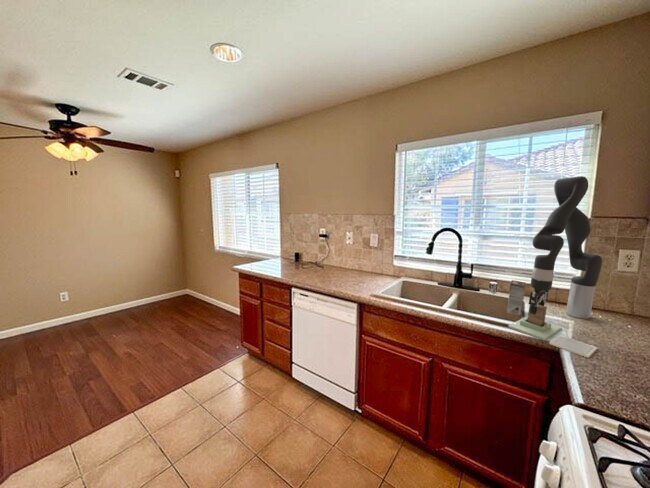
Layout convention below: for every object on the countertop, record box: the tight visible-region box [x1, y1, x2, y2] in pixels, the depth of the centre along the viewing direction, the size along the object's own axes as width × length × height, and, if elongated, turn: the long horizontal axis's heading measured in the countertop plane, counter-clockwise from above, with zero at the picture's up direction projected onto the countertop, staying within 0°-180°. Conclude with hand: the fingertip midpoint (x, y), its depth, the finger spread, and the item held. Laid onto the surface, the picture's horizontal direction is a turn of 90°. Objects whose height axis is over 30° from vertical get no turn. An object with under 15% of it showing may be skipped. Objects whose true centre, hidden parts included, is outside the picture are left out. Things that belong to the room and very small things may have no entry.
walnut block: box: [527, 304, 548, 327], centre depth 123 cm, size 5×5×10 cm
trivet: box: [548, 334, 598, 359], centre depth 109 cm, size 12×12×1 cm
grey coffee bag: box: [506, 279, 526, 316], centre depth 142 cm, size 9×6×16 cm
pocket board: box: [507, 315, 563, 341], centre depth 124 cm, size 20×14×3 cm
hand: (536, 311), depth 123 cm, fingers open, 8 cm apart
